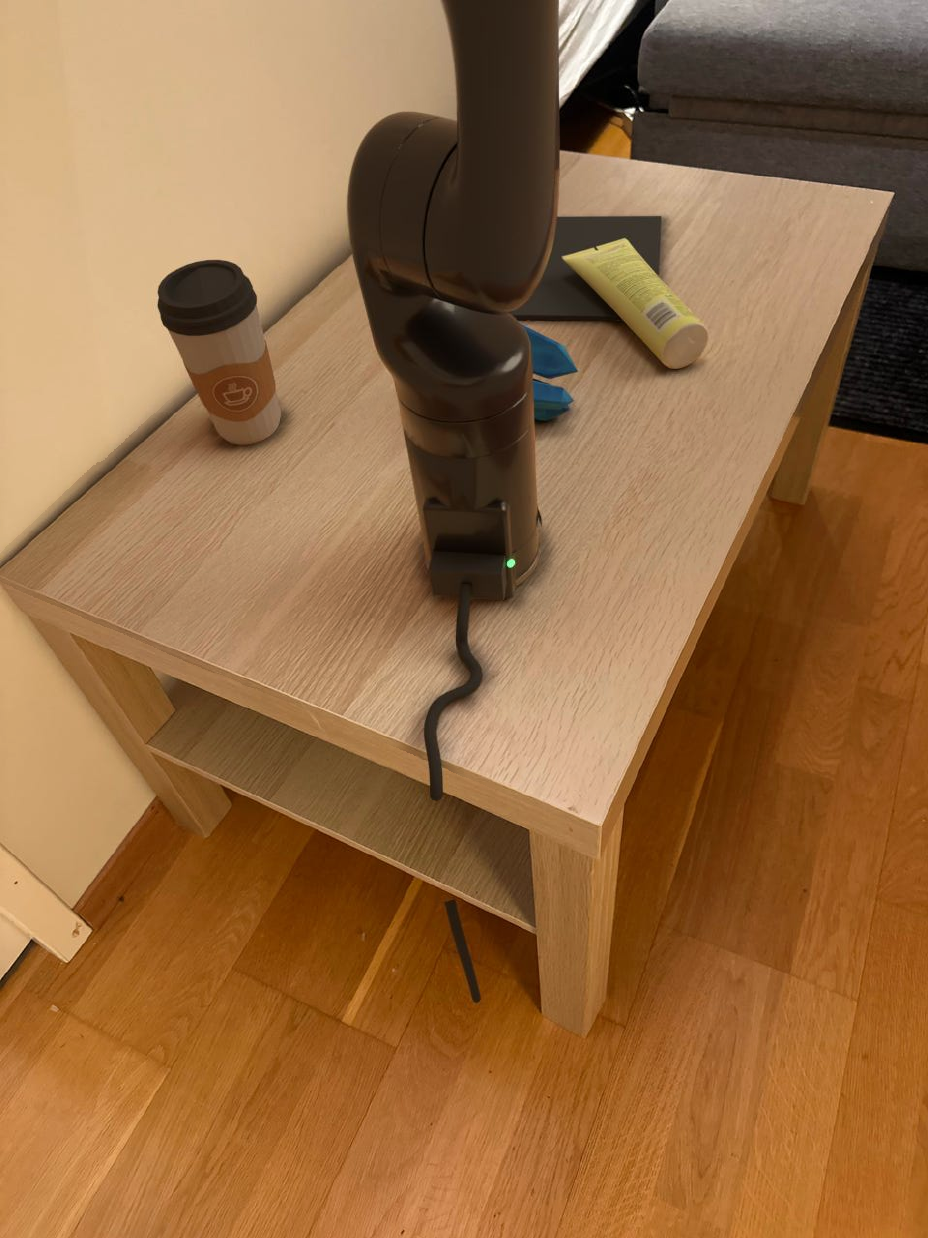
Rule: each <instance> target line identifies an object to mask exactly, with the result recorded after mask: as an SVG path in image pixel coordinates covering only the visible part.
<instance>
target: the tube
mask: <svg viewBox="0 0 928 1238" xmlns="http://www.w3.org/2000/svg"><path fill="white" fill-rule="evenodd" d="M562 259H563V260H564V261H565V262H566V263H567V264H568V265H569V266H570V267H571V268H572V269H573V270H574V271H575V272H577V273H578V274H579V275H580V276H581V277H582V278H583V279H584V280H585V281H586V282H587V283H588V284H589V285H590V286H591V287H592V288H593V289H594V290H595V291H596V292H597V293H598V294H599V295H600V296H601V298H602V299H603V300H604V301H605V302H606V303H607V304H608V305H609V306H610V307H611V308H612V309H613V310H614V311H615V312H616V313H617V314H618V315H619V316H620V317H621V318H622V319H623V321H622V322H624V323H625V324H626V325H627V326H628V327H629V328H630V329H631V330H632V331H633V333H634V334H636V336H637V337H638V338H639V339H640V341H642V342H643V343H644V344H645V346H647V348H648V349H649V350H650V351H651V352H652V353H653V355H654V356H655V357H657V359H658V360H659V361H660V362H661V363H662V364H663V365H664V366H665V367H667V368H669V369H673V370H677V369H682V368H686V367H687V366H689V365H691V364H692V363H694V362H695V361H696V360H697V359H698V358H699V357H700V356H701V355H702V354H703V353H704V351H705V349H706V348H707V344H708V342H709V330H708V328H707V327H706V326H705V324H704V323H703V322H702V321H701V320H700V319H699V318H698V317H697V316H696V314H695V313H693V312H692V311H691V309H689V307H688V306H687V305H686V304H685V303H684V302H683V301H682V300H681V299H680V298H679V297H678V296H677V295H676V293H674V292H673V290H672V289H671V288H670V287H669V286H668V285H667V284H666V283H665V282H664V281H663V280H662V279H661V278H660V276H659V277H658V275H657V274H656V273H655V272H654V271H653V270H652V269H651V268H650V266H649V265H648V264H647V263H646V262H645V261H644V259H643V258H642V257H641V256H640V255H639V254H638V252H637V251H636V250H635V249H634V248H633V246H632V245H631V244H630V242H629V241H628V240H627V239H626V238H623V239H620V240H617V241H614V242H610V243H607V244H604V245H601V246H597V247H594V248H590V249H587V250H584V251H580V252H577V253H574V254H570V255H567V256H562Z"/></svg>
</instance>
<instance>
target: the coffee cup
mask: <svg viewBox="0 0 928 1238" xmlns="http://www.w3.org/2000/svg"><path fill="white" fill-rule="evenodd" d="M157 296H158V298H157V305H156V306H157V309H158V313H159V315H160V317H159V318H160V321H161V323H162V326H164V327H165V329H166V330H167V331H168V333H169V335H170V338H171V339H172V341H173V343H174V345H175V347H176V350H177V352H178V354H179V356H180V358H181V360H182V363H183V366H184V368H185V370H186V373H187V374H188V376H189V378H190V380H191V382H192V385H193V387H194V389H195V391H196V393H197V396H198V397H199V399H200V401H201V403H202V405H203V408H204V409H205V410H206V412H207V414H208V416H209V418H210V420H211V423H212V424H213V427H214V429H215V431H216V433H217V434H218V435H219V436H220V437H221V438H223V439H224V440H225V441H227V442H229V443H231V444H235V445H251V444H256V443H258V442H259V443H260V442H262V441H264V440H266V439H268V438H269V437H270V436H271V435H273V434H274V433H275V432H276V431H277V429H278V428H279V425H280V420H281V418H282V410H281V406H280V402H279V401H280V400H279V397H278V393H277V389H276V388H277V385H276V384H277V383H276V380H275V375H274V371H273V367H272V362H271V357H270V353H269V348H268V344H267V341H266V339H265V335H264V332H263V326H262V323H261V318H260V314H259V313H260V312H259V309H258V305H257V304H258V295H257V293H256V291H255V289H254V286H253V284H252V282H251V280H250V278H249V277H248V276H247V275H245V274H244V272H243V269H242V268H241V267H240V266H239V265H238V264H236V263H234V262H231V261H229V260H223V259H205V260H199V261H195V262H191V263H188V264H185V265H182V266H181V267H178V268H176V269H174V270H173V271H172V272H170V273H168V274H167V275H166V276H165V277H164V278H163V279H162V280H161V281H160V283H159V285H158V286H157Z"/></svg>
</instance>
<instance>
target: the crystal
mask: <svg viewBox="0 0 928 1238" xmlns="http://www.w3.org/2000/svg"><path fill="white" fill-rule="evenodd" d="M521 325H522V326H523V327H524V329H525V330H526V332H527V335H528V337H529V340H530V343H531V348H532V360H533V375H536V376H537V377H538V376H539V377H542V378H544V379H547V380H548V379H549V380H552V379H555V378H560V377H564V376H568V375H572V374H576V373H578V372H579V370H578V369H577V366H576V365H575V363H574V361H573V359H572V357H571V355H570V353H569V351H568V350H567V348H566V346H565V345H564V344H562V343H560V342H558V341H556V340H554V339H552V338H550V337H548V336H546V335H544V334H542V333H541V332H538V331H537V330H534V329H532V328H530V327H528V326H526V325H524V324H523V323H521ZM533 394H534V420H538V421H542V422H549V421H550V420H552V419H554V418H556V417H559V416H560V415H563V414H564V413H566V412H568V411H570V410H571V408H570V406H569V405H571V404H572V403H573V402H575V400H574V398H573V397H572V396H571V395H570V394H569V392H568V391H567V390H566V389H565V388H564V387H562V386H557V385H553V384H551V383H547V382H545V381H542V380H540V379H536V378H534V377H533Z"/></svg>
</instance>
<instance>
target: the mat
mask: <svg viewBox="0 0 928 1238" xmlns="http://www.w3.org/2000/svg"><path fill="white" fill-rule="evenodd" d="M661 236H662V215H622V216H621V215H620V216H619V215H614V216H613V215H610V216H608V215H605V216H604V215H603V216H600V215H598V216H593V215H592V216H557V223H556V228H555V234H554V240H553V245H552V250H551V253H550V257H549V260H548V264H547V266H546V269H545V272H544V274H543V276H542V279H541V281H540V283H539V285H538V287H537V288H536V290H535V291H534V293H533V294H532V296H531V297H530V298H529V300H528V301H527V302H526V303H525V304H524V305H523V306H521V307H520V308H519V309H517V310H515V311H513V312H511V314H512V315H513V316H514V317H515V318H516V319H517V320H518V321H574V322H575V321H577V322H578V321H579V322H581V321H582V322H583V321H585V322H587V321H588V322H624V321H623V319H622V318H621V317H620V316H619V315H618V314H617V313H616V312H615V311H614V310H613V309H612V308H611V307H610V306H609V305H608V304H607V303H606V302H605V301H604V300H603V299H602V298H601V296H600V295H599V294H598V293H597V292H596V291H595V290H594V289H593V288H592V287H591V286H590V285H589V284H588V283H587V282H586V281H585V280H584V279H583V278H582V277H581V276H580V275H579V274H578V273H577V272H575V271H574V270H573V269H572V268H571V267H570V266H569V265H568V264H567V263H566V262H565V261H564V260H563V259H562V256H567V255H570V254H574V253H577V252H580V251H584V250H587V249H590V248H594V247H597V246H601V245H604V244H607V243H610V242H614V241H617V240H620V239H623V238H626V239H627V240H628V241H629V242H630V244H631V245H632V246H633V248H634V249H635V250H636V251H637V252H638V254H639V255H640V256H641V257H642V258H643V259H644V261H645V262H646V263H647V264H648V265H649V266H650V268H651V269H652V270H653V271H654V272H655V273H656V274H657V275H658V277H659V278H660V276H659V275H660V259H661V258H660V256H661Z"/></svg>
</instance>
